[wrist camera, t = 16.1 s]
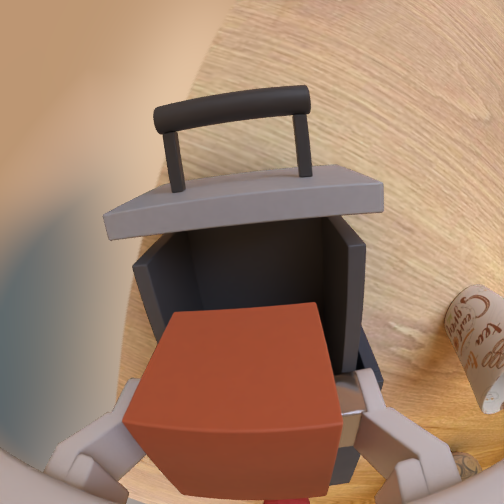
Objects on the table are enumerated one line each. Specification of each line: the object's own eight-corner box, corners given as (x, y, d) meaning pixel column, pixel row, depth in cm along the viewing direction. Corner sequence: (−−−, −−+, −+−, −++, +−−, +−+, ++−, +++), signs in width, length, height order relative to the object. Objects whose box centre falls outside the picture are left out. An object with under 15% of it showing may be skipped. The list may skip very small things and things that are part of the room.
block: (203, 400, 11) (181, 495, 6) (173, 311, 9) (119, 421, 5) (315, 395, 10) (326, 496, 6) (316, 300, 9) (344, 423, 4)
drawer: (152, 121, 17) (84, 116, 9) (330, 98, 16) (373, 71, 8) (200, 348, 23) (179, 421, 16) (338, 338, 22) (360, 413, 15)
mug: (481, 255, 20) (552, 312, 10) (511, 320, 22) (556, 372, 13) (420, 320, 22) (470, 399, 13) (462, 369, 25) (498, 430, 15)
